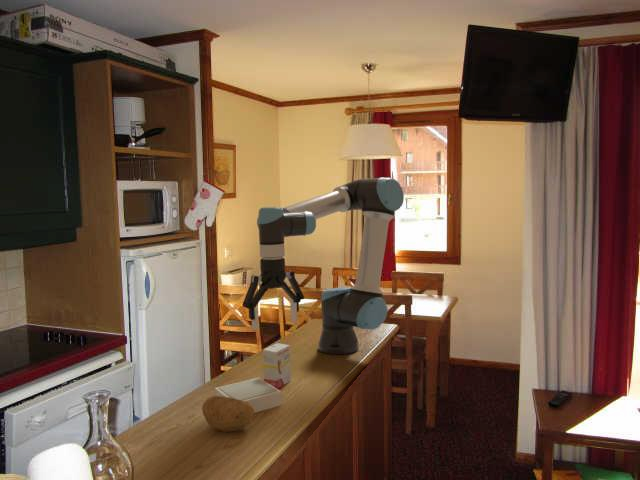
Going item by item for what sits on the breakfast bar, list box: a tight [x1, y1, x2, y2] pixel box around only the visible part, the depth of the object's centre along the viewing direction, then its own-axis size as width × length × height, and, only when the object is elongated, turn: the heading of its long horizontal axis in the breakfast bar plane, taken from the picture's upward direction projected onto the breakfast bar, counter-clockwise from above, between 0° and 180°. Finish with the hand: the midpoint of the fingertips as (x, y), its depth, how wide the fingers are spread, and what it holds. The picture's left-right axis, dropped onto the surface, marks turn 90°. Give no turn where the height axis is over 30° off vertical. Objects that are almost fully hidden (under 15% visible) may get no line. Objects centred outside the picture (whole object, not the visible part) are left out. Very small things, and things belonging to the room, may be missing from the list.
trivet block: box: [214, 377, 283, 414], centre depth 150 cm, size 14×14×4 cm
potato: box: [201, 395, 255, 433], centre depth 134 cm, size 10×14×8 cm
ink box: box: [262, 342, 292, 390], centre depth 164 cm, size 9×5×12 cm, turn 151°
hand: (275, 326), depth 163 cm, fingers open, 13 cm apart
